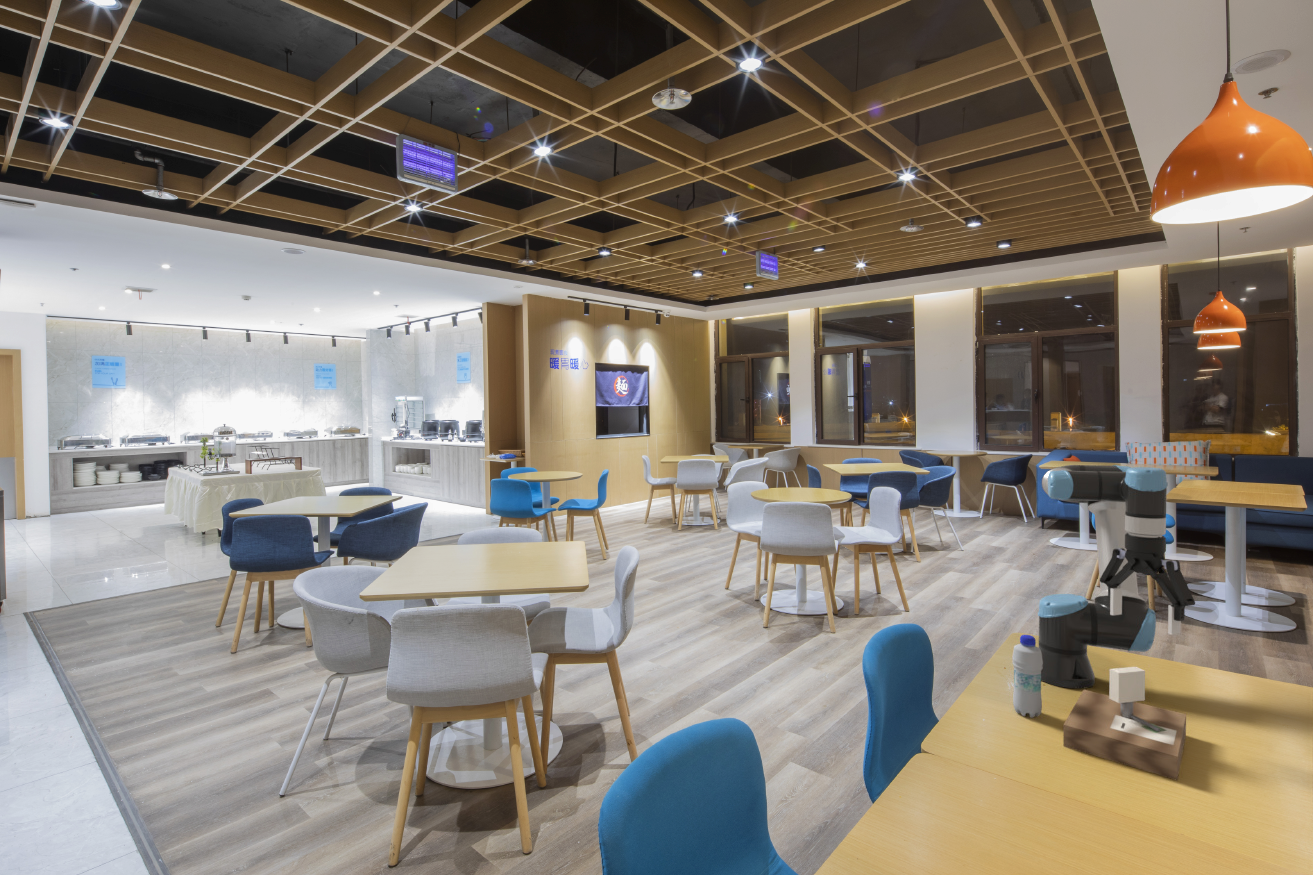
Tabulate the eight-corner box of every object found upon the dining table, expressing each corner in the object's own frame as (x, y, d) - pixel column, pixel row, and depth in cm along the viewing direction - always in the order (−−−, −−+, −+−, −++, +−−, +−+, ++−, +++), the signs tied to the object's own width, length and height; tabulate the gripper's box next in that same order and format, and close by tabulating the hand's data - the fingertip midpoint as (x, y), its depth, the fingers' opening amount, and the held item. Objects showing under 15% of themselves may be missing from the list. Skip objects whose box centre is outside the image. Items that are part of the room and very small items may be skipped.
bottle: (1034, 707, 161) (1034, 630, 160) (1048, 719, 154) (1048, 640, 153) (1007, 706, 161) (1007, 630, 161) (1019, 719, 155) (1019, 639, 154)
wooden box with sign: (1063, 745, 142) (1063, 724, 142) (1083, 708, 159) (1083, 689, 159) (1177, 780, 128) (1177, 756, 128) (1185, 735, 146) (1186, 713, 145)
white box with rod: (1145, 733, 137) (1145, 685, 136) (1109, 714, 146) (1109, 668, 145) (1172, 730, 138) (1172, 682, 138) (1135, 711, 147) (1135, 666, 146)
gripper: (1217, 543, 134) (1215, 640, 135) (1107, 523, 158) (1106, 605, 159) (1190, 546, 132) (1188, 644, 133) (1083, 525, 156) (1082, 608, 157)
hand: (1143, 623), depth 146 cm, fingers open, 13 cm apart
